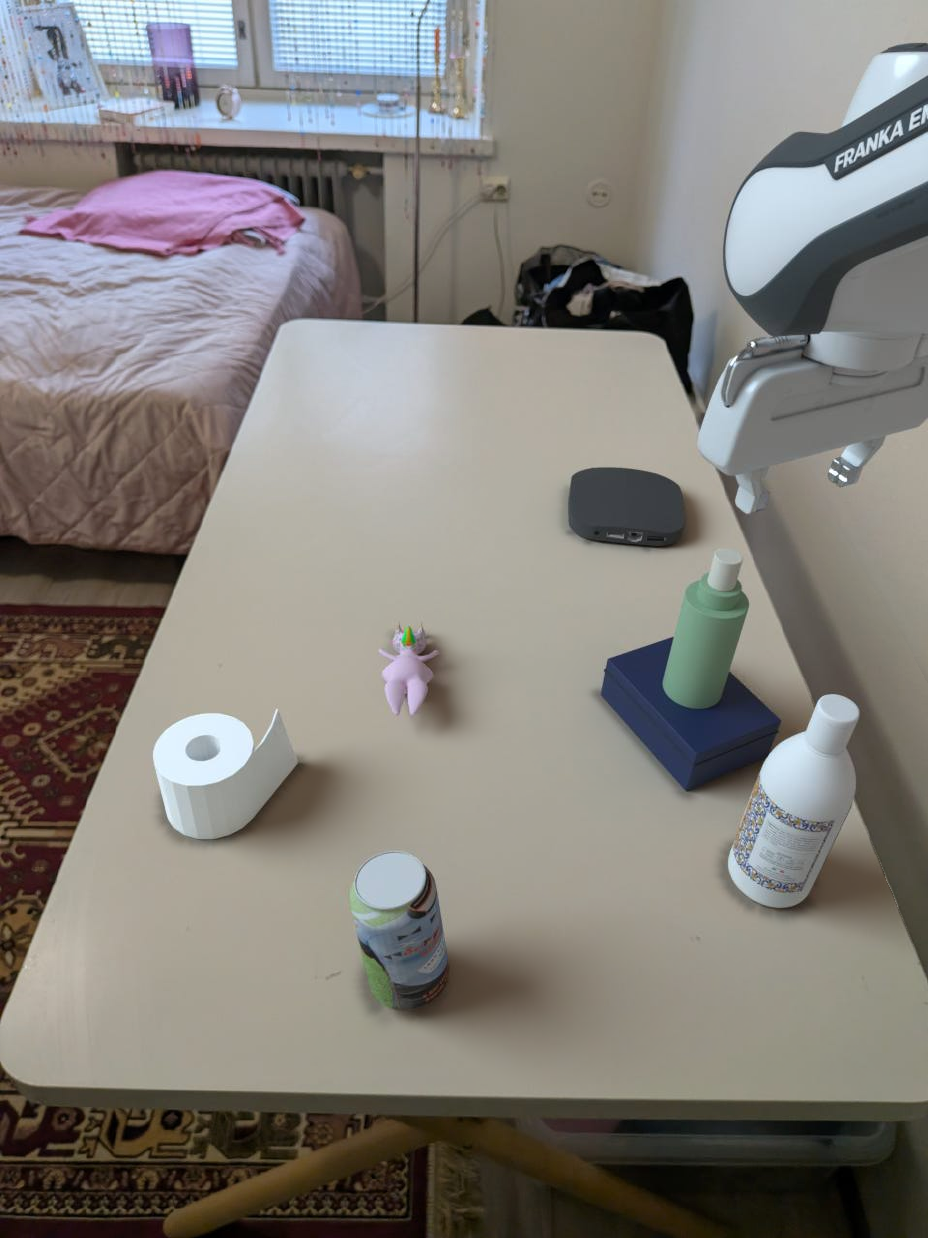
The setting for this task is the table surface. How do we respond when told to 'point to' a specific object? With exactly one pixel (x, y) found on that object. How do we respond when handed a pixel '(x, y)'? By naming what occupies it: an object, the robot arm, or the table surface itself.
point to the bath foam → (797, 808)
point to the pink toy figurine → (407, 670)
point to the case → (687, 719)
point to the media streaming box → (626, 506)
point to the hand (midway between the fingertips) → (796, 494)
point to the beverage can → (400, 930)
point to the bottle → (707, 634)
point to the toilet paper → (219, 772)
